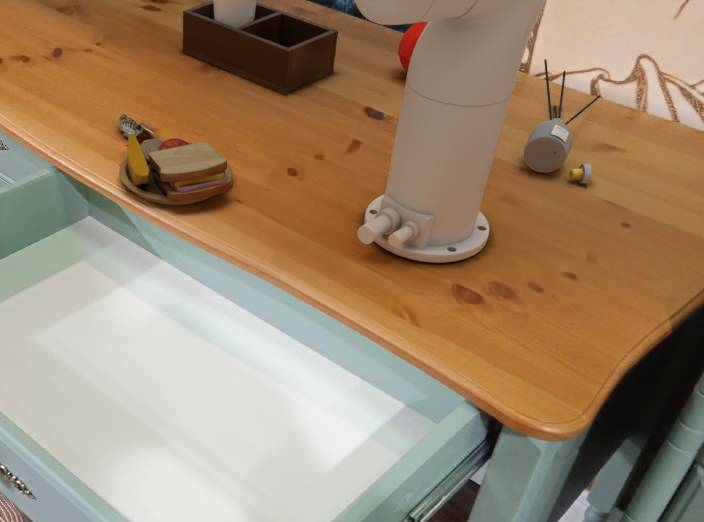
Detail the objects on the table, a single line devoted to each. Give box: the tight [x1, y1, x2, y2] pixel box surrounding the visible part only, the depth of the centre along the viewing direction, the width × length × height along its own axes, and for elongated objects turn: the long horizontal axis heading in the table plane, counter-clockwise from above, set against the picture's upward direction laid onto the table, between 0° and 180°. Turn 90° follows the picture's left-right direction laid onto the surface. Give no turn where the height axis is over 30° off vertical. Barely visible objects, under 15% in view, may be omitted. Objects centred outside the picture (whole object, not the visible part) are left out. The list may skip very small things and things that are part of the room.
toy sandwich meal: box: [118, 134, 234, 206], centre depth 94 cm, size 12×14×5 cm
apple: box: [397, 21, 429, 74], centre depth 114 cm, size 8×8×7 cm
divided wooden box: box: [182, 0, 339, 96], centre depth 118 cm, size 10×19×6 cm, turn 44°
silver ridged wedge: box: [118, 113, 155, 138], centre depth 104 cm, size 6×2×3 cm
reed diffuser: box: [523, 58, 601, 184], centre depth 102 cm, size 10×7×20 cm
